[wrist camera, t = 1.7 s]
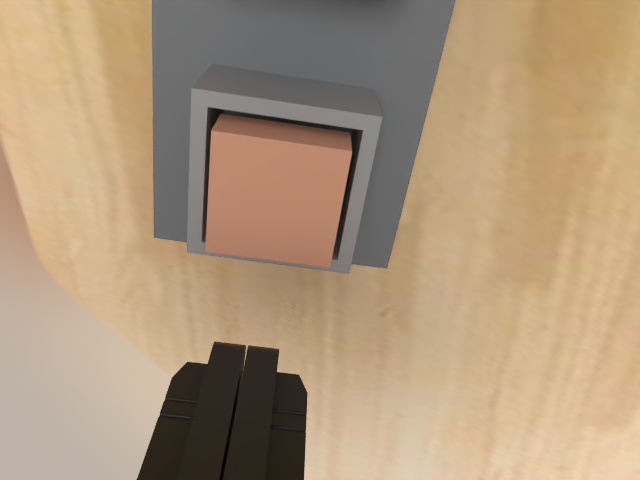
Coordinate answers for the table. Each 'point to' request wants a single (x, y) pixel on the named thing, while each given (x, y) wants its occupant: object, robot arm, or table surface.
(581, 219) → the table surface
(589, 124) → the table surface
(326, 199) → the terracotta key
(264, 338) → the table surface
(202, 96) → the key panel
